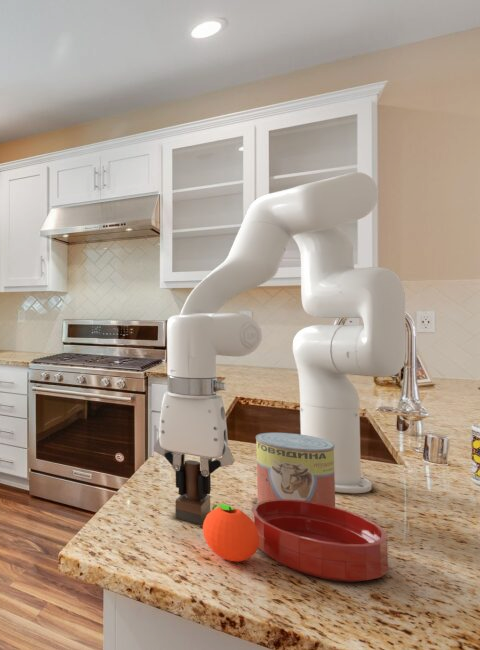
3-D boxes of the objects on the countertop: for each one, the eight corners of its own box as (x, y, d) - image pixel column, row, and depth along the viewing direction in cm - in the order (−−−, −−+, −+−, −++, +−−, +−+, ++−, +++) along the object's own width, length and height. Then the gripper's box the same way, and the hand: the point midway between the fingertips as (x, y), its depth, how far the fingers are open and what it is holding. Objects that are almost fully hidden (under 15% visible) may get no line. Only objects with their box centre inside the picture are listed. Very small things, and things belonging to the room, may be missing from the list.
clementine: (189, 544, 70) (188, 496, 71) (234, 541, 71) (233, 494, 71) (222, 573, 62) (221, 518, 63) (272, 570, 63) (271, 516, 63)
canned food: (253, 512, 81) (251, 442, 81) (260, 492, 90) (259, 429, 90) (336, 530, 74) (334, 453, 74) (335, 506, 83) (334, 438, 83)
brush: (185, 507, 84) (185, 456, 84) (210, 512, 81) (209, 460, 82) (175, 518, 79) (174, 464, 80) (201, 524, 77) (200, 469, 77)
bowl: (261, 522, 77) (261, 491, 77) (385, 551, 68) (385, 516, 68) (243, 560, 66) (242, 523, 66) (390, 601, 56) (389, 558, 56)
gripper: (249, 388, 79) (251, 499, 78) (151, 380, 89) (152, 479, 89) (240, 394, 73) (242, 514, 73) (136, 385, 83) (137, 490, 83)
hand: (193, 494), depth 81 cm, fingers closed on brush, 2 cm apart
